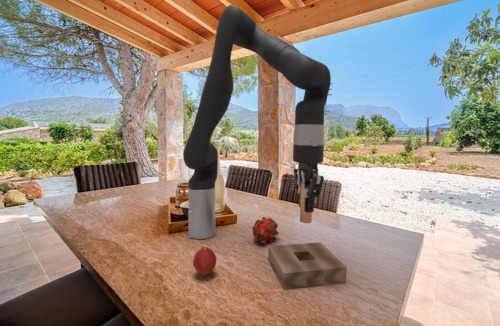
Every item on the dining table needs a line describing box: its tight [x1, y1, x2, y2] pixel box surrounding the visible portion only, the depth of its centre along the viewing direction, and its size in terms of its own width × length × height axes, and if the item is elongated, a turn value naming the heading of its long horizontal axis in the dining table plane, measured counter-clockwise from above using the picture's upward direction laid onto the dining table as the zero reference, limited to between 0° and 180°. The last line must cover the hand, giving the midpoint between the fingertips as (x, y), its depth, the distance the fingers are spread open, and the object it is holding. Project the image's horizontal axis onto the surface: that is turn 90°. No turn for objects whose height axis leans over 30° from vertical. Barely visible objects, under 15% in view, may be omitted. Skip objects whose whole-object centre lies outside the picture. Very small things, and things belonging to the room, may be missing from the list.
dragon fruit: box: [251, 217, 280, 245], centre depth 82 cm, size 8×8×12 cm
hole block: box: [267, 241, 348, 290], centre depth 64 cm, size 16×14×4 cm
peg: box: [299, 183, 313, 224], centre depth 63 cm, size 3×3×10 cm
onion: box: [192, 245, 217, 276], centre depth 62 cm, size 6×6×8 cm
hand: (306, 209), depth 63 cm, fingers closed on peg, 3 cm apart
